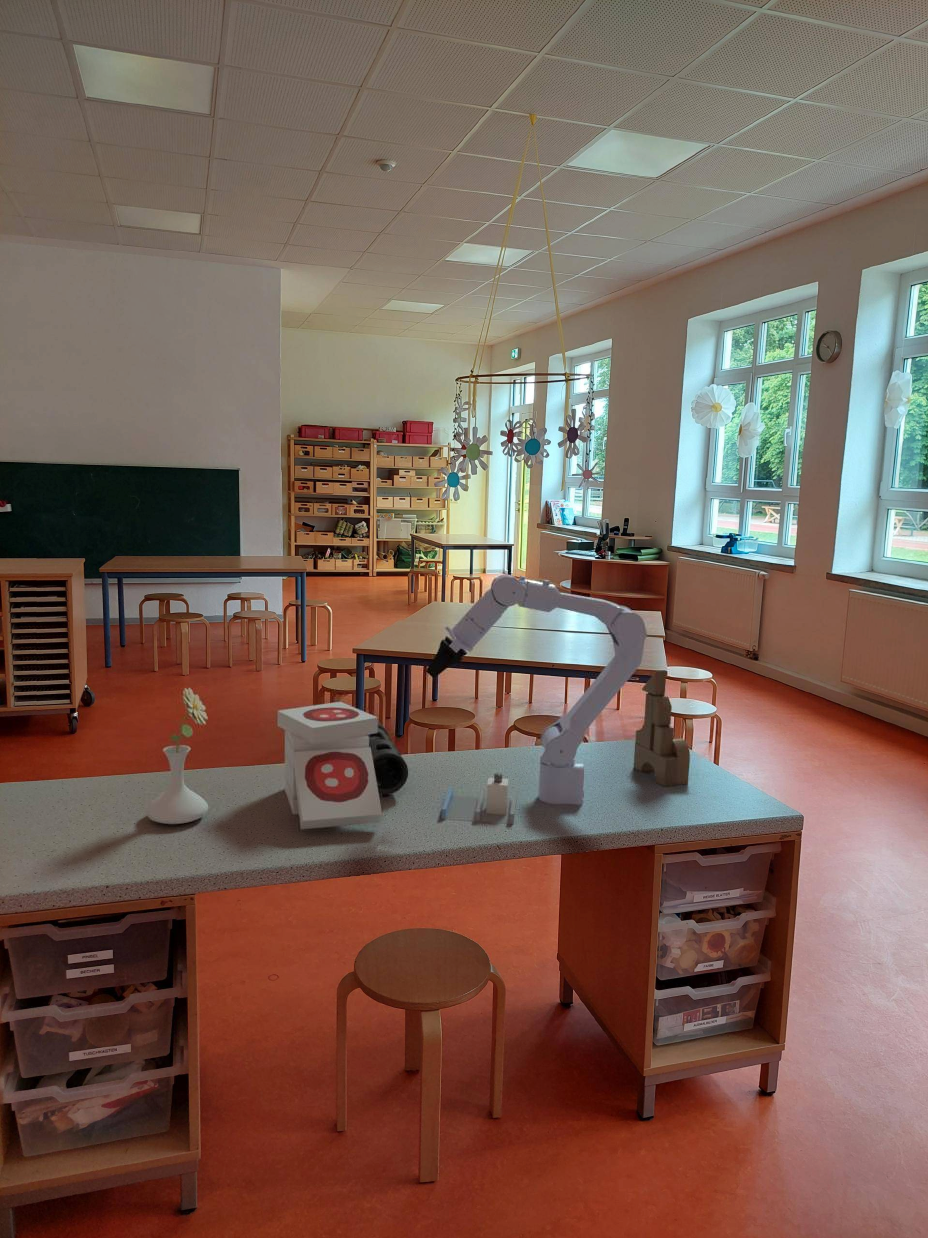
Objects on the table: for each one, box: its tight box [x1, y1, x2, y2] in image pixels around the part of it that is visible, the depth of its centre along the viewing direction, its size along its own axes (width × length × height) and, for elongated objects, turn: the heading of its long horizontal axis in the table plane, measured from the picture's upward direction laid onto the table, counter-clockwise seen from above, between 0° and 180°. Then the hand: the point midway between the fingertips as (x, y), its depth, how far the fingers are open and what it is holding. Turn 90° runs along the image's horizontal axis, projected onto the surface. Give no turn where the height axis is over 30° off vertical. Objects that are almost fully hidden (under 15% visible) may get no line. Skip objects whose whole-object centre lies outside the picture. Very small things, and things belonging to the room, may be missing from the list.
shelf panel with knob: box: [441, 785, 518, 825], centre depth 177 cm, size 14×13×3 cm
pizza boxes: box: [277, 701, 383, 830], centre depth 177 cm, size 19×30×18 cm, turn 18°
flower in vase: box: [145, 687, 209, 825], centre depth 169 cm, size 13×11×25 cm
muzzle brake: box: [367, 721, 409, 799], centre depth 196 cm, size 10×28×10 cm, turn 16°
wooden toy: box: [633, 669, 691, 787], centre depth 204 cm, size 16×7×25 cm, turn 19°
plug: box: [486, 772, 509, 815], centre depth 177 cm, size 4×4×8 cm
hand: (432, 672), depth 180 cm, fingers open, 7 cm apart
